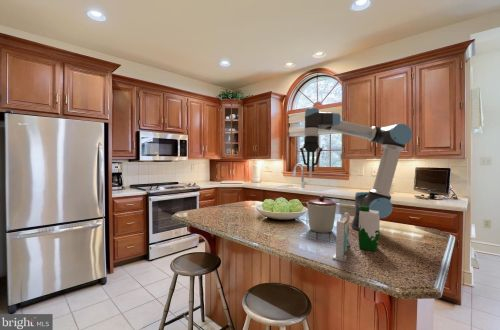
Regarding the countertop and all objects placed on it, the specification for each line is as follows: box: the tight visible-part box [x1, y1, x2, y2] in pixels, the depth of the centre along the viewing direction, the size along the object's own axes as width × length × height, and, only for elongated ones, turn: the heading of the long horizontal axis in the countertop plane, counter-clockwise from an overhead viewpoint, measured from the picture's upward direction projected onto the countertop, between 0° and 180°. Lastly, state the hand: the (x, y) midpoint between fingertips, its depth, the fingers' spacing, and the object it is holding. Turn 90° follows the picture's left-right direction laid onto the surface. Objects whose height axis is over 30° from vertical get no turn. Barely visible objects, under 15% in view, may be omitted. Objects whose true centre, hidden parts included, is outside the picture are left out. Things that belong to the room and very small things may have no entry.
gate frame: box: [332, 212, 351, 263], centre depth 117 cm, size 25×5×16 cm, turn 152°
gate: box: [340, 216, 348, 232], centre depth 117 cm, size 16×2×13 cm, turn 151°
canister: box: [305, 195, 338, 234], centre depth 151 cm, size 18×18×21 cm
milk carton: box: [358, 206, 381, 252], centre depth 122 cm, size 9×9×20 cm
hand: (310, 177), depth 144 cm, fingers closed
